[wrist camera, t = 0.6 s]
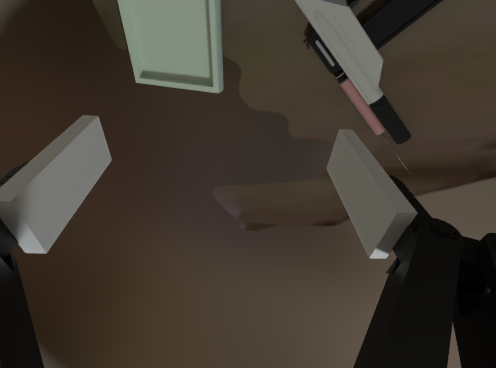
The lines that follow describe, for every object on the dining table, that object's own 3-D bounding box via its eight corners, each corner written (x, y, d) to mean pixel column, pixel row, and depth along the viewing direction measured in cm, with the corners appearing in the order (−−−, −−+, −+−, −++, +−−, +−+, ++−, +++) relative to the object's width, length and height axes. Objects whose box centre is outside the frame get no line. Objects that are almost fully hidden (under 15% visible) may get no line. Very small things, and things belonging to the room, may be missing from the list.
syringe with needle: (537, 123, 29) (402, 181, 38) (526, 116, 31) (399, 173, 40) (396, -160, 21) (267, -5, 30) (392, -148, 23) (271, -5, 32)
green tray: (119, -34, 35) (109, -36, 34) (219, -34, 32) (212, -36, 30) (143, 79, 44) (136, 82, 42) (223, 89, 40) (218, 93, 39)
